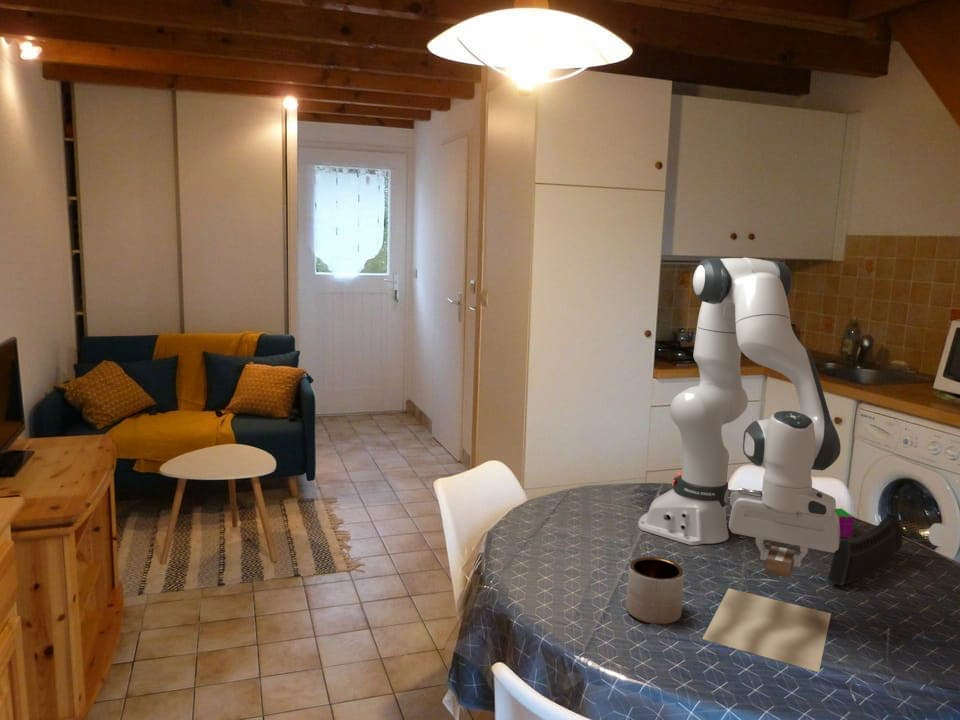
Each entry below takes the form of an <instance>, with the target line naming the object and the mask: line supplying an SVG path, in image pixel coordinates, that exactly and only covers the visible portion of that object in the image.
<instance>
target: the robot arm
mask: <svg viewBox="0 0 960 720" xmlns="http://www.w3.org/2000/svg"><path fill="white" fill-rule="evenodd" d="M693 272H694V273H693V276H692V277H693V278H692V290H693V294H694V295H695V296H696V298H697V299H698V301H701V306H700V308H699V311H698V312H699V313H698V318H697V324H696V331H695V339H694V347H693V354H692V355H693V359H694V361H695V363H696V365H697V368H698V371H699V372H698V373H699V384H698V385H695V386H691V387H690V386H689V387H688V388H686V389H684V390H682V391H681V392H680V393H678V394H677V395H676V396H674V398H673V399H672V401H671V403H670V412H669V413H670V416H671V420H672V421H673V422H674V424H675V425H676V426H677V428H678V429H679V434H680V437H681V442H682V443H681V444H682V461H681V462H682V465H681V471H680V472H677V473H676V474H675V476H674V478H673V480H672V483H671V487H672V489H670V490H668V491H666V492H665V493H663V494H661V495H659V496H657V497H656V498H655V499H653V501H652V502H651V504H650V506H649V507H648V508H649V509H648V512H646V513H644V514H643V515H641V517H640V518H639V519H638V523H637V526H638V528H639V530H641V531H644V532H646V533H650V534H653V535H657V536H660V537H664V538H666V539H670V540H673V541H676V542H680V543H683V544H685V545H686V544H687V545H689V546H698V545H704V544H705V545H707V544H718V543H722V542H726V541H727V540H728V539H729V537H730V535H729V530H730V531H731V533H733V534H736V535H742V536H745V537H746V536H747V537H752V538H755V544H756V546H757V548H758V550H759V552H760V557H759V559H760V560H762V561H766V557H767V555H768V553H769V551H770V549H767V548H766V546H765V545H764V542H765V540H766V541H771V542H776V543H781V544H786V545H792V546H796V547H799V551H800V553H799V554H798V555H797V554H795V555H794V556H793V563H792V566H794V567H795V568H801V565H802V559H804V557H805V556H806V555H807V554H808V552H809V549H813V550H817V551H822V552H827V553H832V554H834V552H835V551H837V550H838V549H839V544H840V541H841V538H840V524H839V518H838V515H837V514H836V512H835V509H837V508H836V507H837V503H836V502H837V501H836V499H835V497H833V496H831V495H829V494H827V493H825V492H822V491H821V490H819V489H816V488H814V487H813V480H812V471H814V470H815V471H825V470H826V469H828V468H830V466H832V465H833V464H834V463H835V462H836V461H837V459H839V457H840V454H841V446H842V445H841V439H840V437H839V434H838V431H837V428H836V427H835V424H834V423H833V420H832V417H831V415H830V412H829V409H828V408H829V407H828V404H827V401H826V397H825V394H824V390H823V386H822V383H821V380H820V376H819V373H818V369H817V365H816V363H815V360H814V358H813V356H812V353H811V351H810V350H809V348H808V347H806V346H805V345H803V344H802V343H801V342H800V341H799V339H798V338H797V336H796V334H795V332H794V330H793V327H792V323H791V314H790V308H789V302H788V297H789V295H790V294H791V291H792V285H793V276H792V273H791V270H790V268H789V267H788V265H787V264H785V263H783V262H780V261H777V260H773V259H770V260H765V259H759V258H752V257H741V258H740V257H731V258H730V257H729V258H728V257H727V258H726V257H725V258H720V257H710V258H709V257H708V258H704V259H702V260H701V261H700V262H699V263H698V264H697V266H696V267H695V270H694V271H693ZM742 353H743V355H744V356H745V357H747V359H749V360H750V361H752V362H754V363H756V364H757V365H759V366H762V367H765V368H768V369H770V370H774V371H775V372H778V373H780V374H782V375H783V376H785V377H786V378H788V379H789V380H790V382H792V385H793V386H794V388H795V393H796V395H797V398H798V402H799V405H800V409H801V412H797V411H795V410H780V411H779V410H778V411H776V412H774V413H773V414H772V415H771V416H770V417H769V418H766V419H760V420H754V421H753V422H751V423H750V424H749V425H748V426H747V427H746V428H745V430H744V432H743V442H742V452H743V454H744V456H745V457H746V459H748V461H750V462H751V463H753V464H754V465H755V466H758V467H763V468H764V469H765V470H764V471H765V472H764V475H763V478H762V489H761V490H756V489H747V488H745V487H739V488H738V489H734V490H733V491H731V493H730V496H729V482H728V470H729V459H730V453H729V450H728V449H727V448H726V446H725V445H724V440H723V435H722V429H723V428H722V427H723V425H726V424H729V423H733V422H734V421H736V420H737V419H738V418H740V416H741V415H743V414H744V413H745V412H746V410H747V407H748V405H749V403H748V402H749V399H748V395H747V392H746V390H745V389H744V387H743V383H742V375H741V357H742ZM728 497H729V498H728ZM728 499H729V503H730V506H731V508H732V509H731V511H730V516H729V520H728V521H729V522H728V525H727V510H726V505H727V503H728ZM728 528H729V530H728Z"/></svg>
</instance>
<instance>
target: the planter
mask: <svg viewBox="0 0 960 720" xmlns="http://www.w3.org/2000/svg"><path fill="white" fill-rule="evenodd" d="M627 578H628V579H627V589H626V590H627V591H626V600H625V601H626V602H625V607H626V610H627V612H628V613H629V614H630V615H631V616H632V617H633V618H635V619H636V620H638V621H640V622H642V621H643V622H642V623H645V624H659V625H660V624H664V625H665V624H670V623H674V622H676V621H678V620H680V618H681V616H682V613H683V600H684V597H683V594H684V583H685V581H684V579H685V570H684V568H683V567H682V566H681V565H680V564H678V563H677V562H675V561H672V560H670V559H666V558H664V557H658V556H642V557H637V558H634V559H633V560H631V561H630V562H629V565H628V575H627Z"/></svg>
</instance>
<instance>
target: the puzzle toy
mask: <svg viewBox="0 0 960 720" xmlns="http://www.w3.org/2000/svg"><path fill="white" fill-rule="evenodd" d="M835 512H836V514H837V515H838V518H839V524H840V537H851V538H852V534H853V524H854V517H855V516H853V515H852V514H850V513H849V512H847V511H846V510H845V509H843V508H835Z"/></svg>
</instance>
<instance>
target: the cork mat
mask: <svg viewBox="0 0 960 720" xmlns="http://www.w3.org/2000/svg"><path fill="white" fill-rule="evenodd" d="M831 615H832V613H830V612H827V611H822V610H818V609H813V608H811V607H806V606H802V605H799V604H794V603H790V602H785V601H782V600H777V599H773V598H770V597H767V596H766V597H765V596H762V595H758V594H753V593H749V592H745V591H743V590H742V591H741V590H736V589H734V588H728V589H727V590H726V592H725V594H724V596H723V598H722V600H721V602H720V603H719V606H718V608H717V609H716V611H715V613H714V615H713V616H712V619H711V620H710V623H709V625H708V627H707V629H706V631H705V632H704V634H703V636H702V638H701V639H702V640H704V641H708V642H710V643H715V644H718V645H721V646H725V647H728V648H731V649H736V650H739V651H742V652H746V653H750V654H753V655H757V656H760V657H764V658H767V659H771V660H774V661H777V662H781V663H784V664H788V665H792V666H796V667H798V668H799V667H800V668H801V669H802V668H803V669H806V670H809V671H813V672H816V673H820V668H821V664H822V659H823V656H824V655H823V654H824V650H825V645H826V640H827V634H828V630H829V625H830V620H831Z"/></svg>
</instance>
